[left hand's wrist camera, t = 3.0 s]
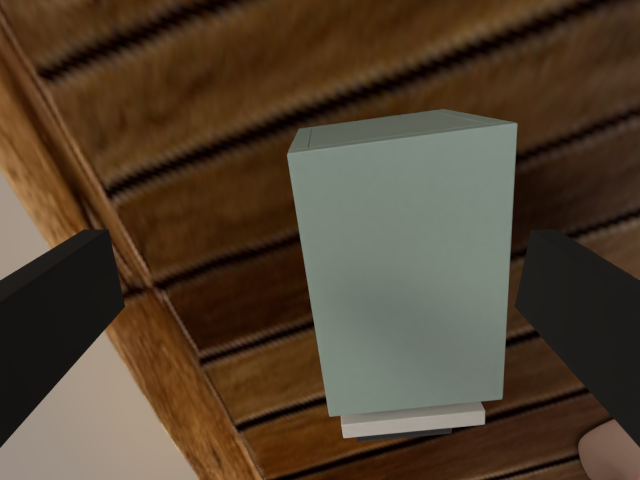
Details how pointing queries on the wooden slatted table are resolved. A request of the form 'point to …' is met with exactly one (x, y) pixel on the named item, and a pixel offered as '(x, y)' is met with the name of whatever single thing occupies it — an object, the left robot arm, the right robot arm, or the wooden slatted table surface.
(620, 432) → the anatomical model
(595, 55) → the wooden slatted table surface
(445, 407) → the drawer
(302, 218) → the cabinet
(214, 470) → the wooden slatted table surface
